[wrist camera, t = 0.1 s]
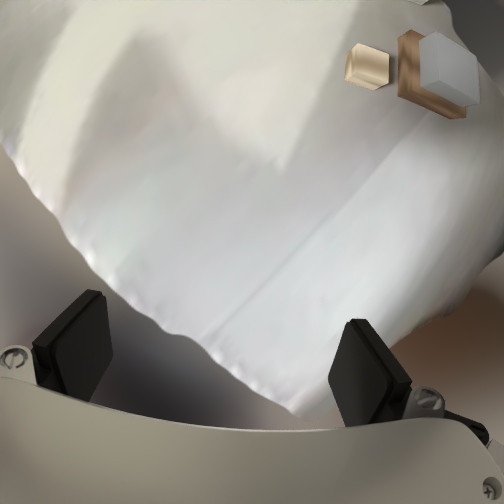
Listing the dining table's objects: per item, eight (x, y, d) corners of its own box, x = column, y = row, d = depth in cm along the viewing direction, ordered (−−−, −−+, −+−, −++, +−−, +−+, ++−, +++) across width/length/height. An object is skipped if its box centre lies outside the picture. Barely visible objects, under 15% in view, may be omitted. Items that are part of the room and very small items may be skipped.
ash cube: (345, 54, 33) (357, 43, 29) (374, 63, 34) (388, 54, 29) (344, 81, 35) (356, 72, 30) (373, 90, 35) (388, 82, 30)
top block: (418, 40, 28) (435, 31, 24) (458, 62, 29) (476, 56, 24) (420, 86, 31) (439, 80, 26) (460, 107, 31) (480, 103, 27)
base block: (396, 39, 32) (410, 29, 28) (447, 64, 33) (463, 58, 29) (396, 96, 36) (412, 90, 31) (448, 119, 37) (466, 117, 32)
